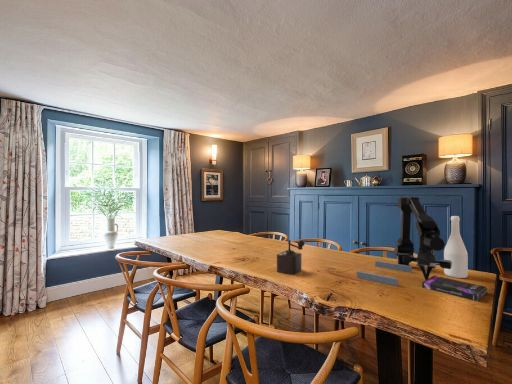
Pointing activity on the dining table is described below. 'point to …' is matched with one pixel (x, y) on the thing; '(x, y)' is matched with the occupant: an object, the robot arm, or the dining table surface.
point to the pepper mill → (290, 260)
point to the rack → (383, 278)
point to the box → (455, 287)
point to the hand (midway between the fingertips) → (426, 279)
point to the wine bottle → (456, 252)
